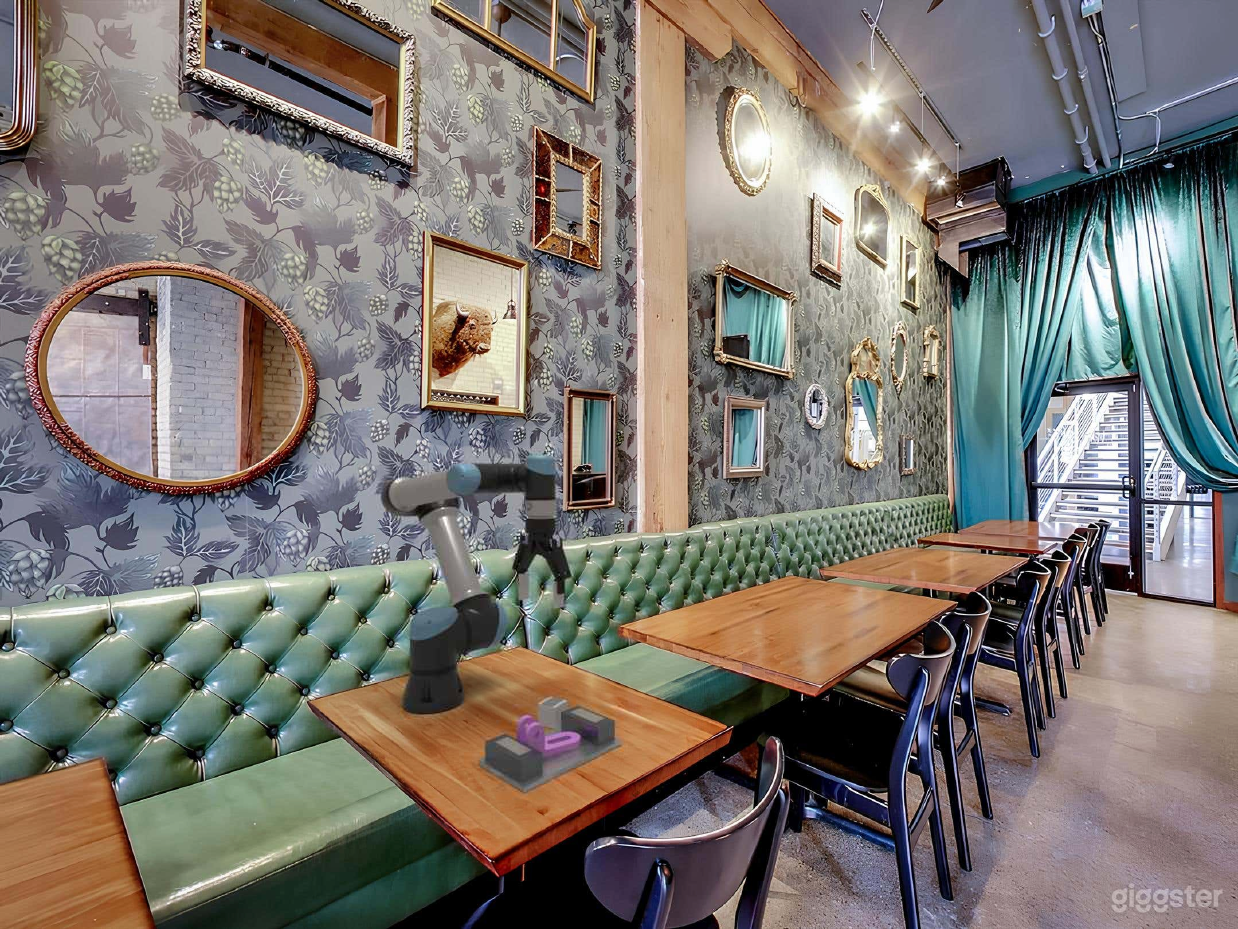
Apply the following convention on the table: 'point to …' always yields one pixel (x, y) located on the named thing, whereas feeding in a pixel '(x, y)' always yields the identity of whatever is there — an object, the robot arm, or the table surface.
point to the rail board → (532, 770)
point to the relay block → (551, 712)
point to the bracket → (545, 738)
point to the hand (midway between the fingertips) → (540, 603)
